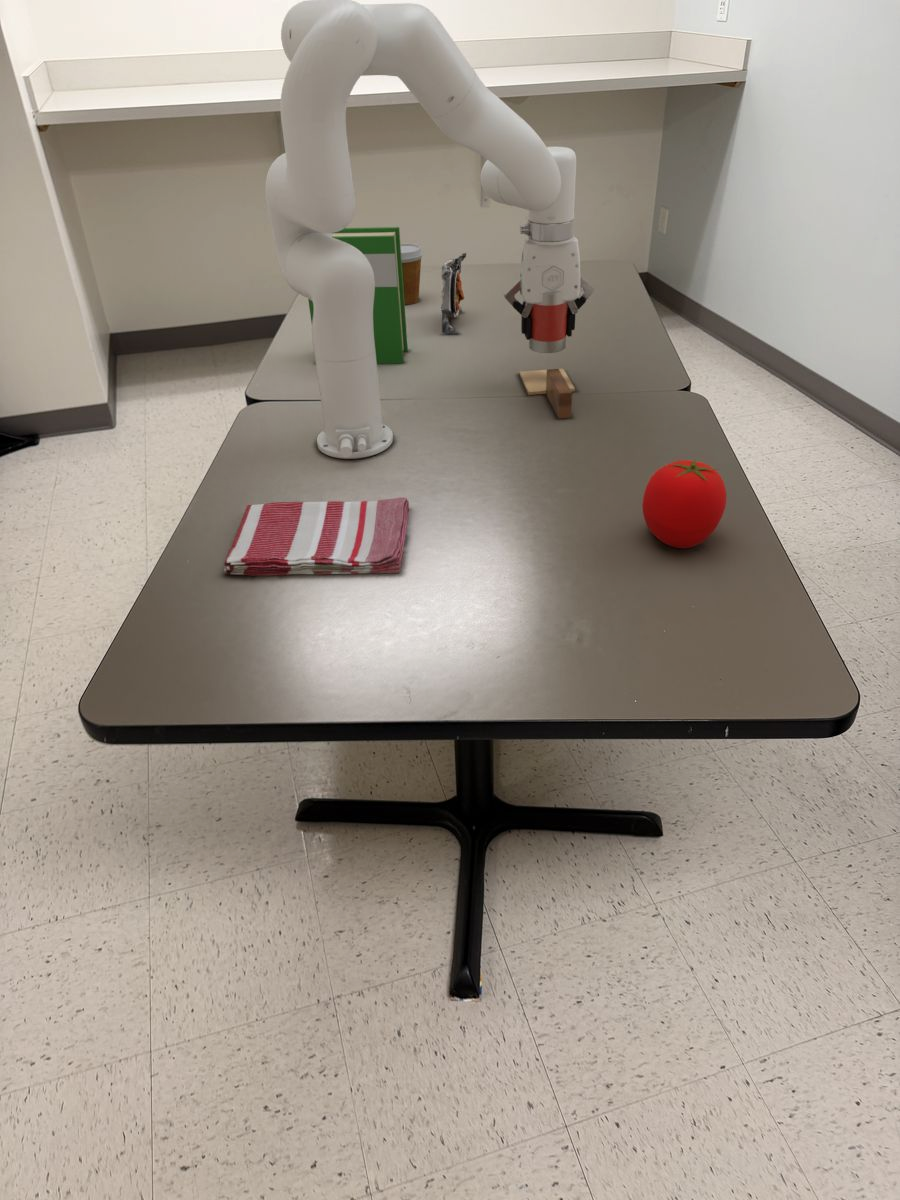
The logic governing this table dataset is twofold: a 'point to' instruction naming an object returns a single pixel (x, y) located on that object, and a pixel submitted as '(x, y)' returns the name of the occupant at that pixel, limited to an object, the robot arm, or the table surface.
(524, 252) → the robot arm
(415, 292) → the disposable coffee cup
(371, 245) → the hardback book
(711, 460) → the table surface
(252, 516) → the dish towel
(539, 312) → the tin can
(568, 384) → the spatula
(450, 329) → the meal
